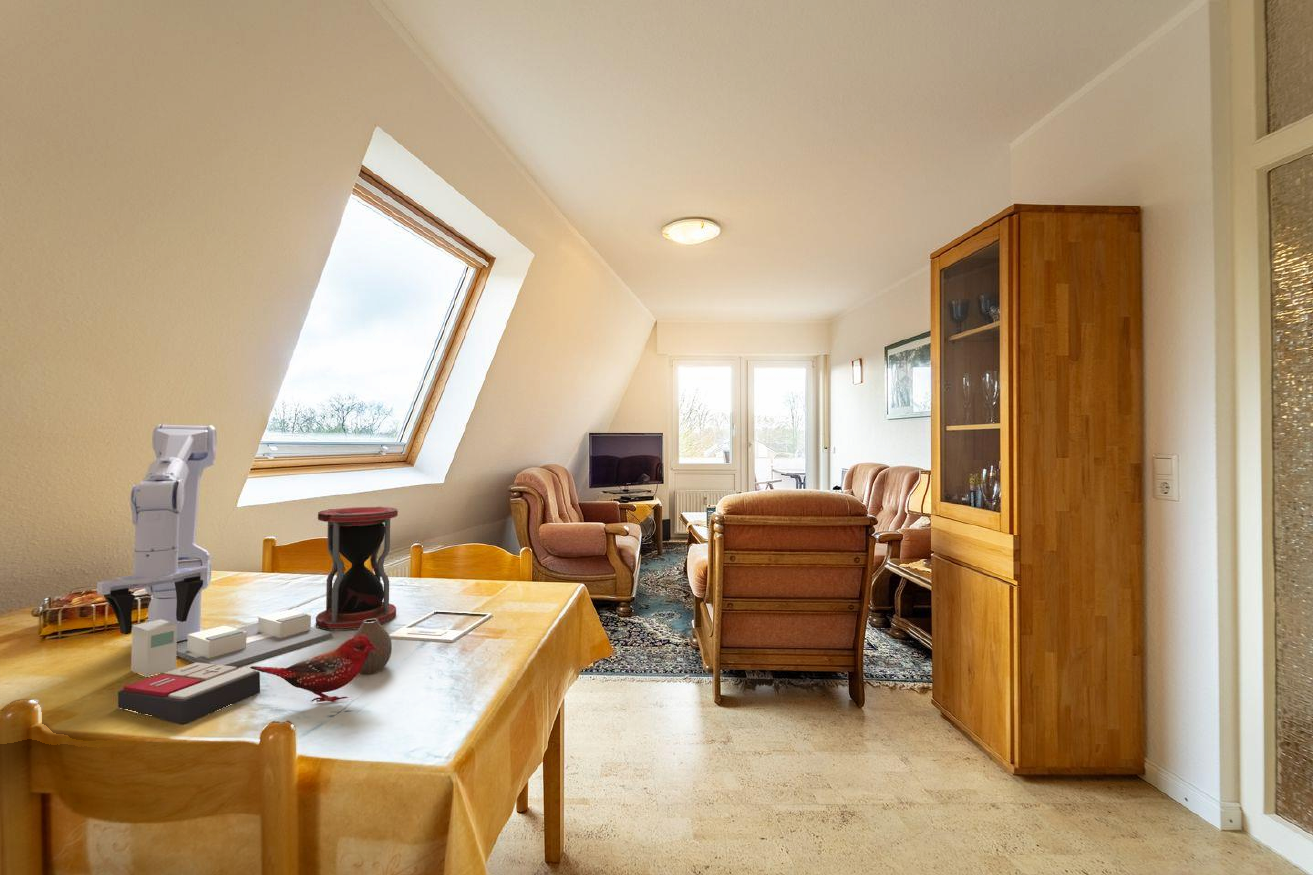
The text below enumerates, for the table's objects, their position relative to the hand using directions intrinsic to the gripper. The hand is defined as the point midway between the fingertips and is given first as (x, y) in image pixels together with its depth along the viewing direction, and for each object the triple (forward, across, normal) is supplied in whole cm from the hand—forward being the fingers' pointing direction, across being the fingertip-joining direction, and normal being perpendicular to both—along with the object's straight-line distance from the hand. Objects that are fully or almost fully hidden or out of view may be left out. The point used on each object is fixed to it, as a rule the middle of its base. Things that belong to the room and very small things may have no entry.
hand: (154, 626), depth 96 cm
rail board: (+8, +15, -1) cm, 17 cm away
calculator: (+8, -2, -19) cm, 21 cm away
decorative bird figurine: (+8, +6, -37) cm, 38 cm away
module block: (+8, 0, 0) cm, 8 cm away
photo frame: (+8, +41, -25) cm, 49 cm away
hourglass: (+8, +35, -4) cm, 36 cm away
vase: (+8, +18, -33) cm, 38 cm away
